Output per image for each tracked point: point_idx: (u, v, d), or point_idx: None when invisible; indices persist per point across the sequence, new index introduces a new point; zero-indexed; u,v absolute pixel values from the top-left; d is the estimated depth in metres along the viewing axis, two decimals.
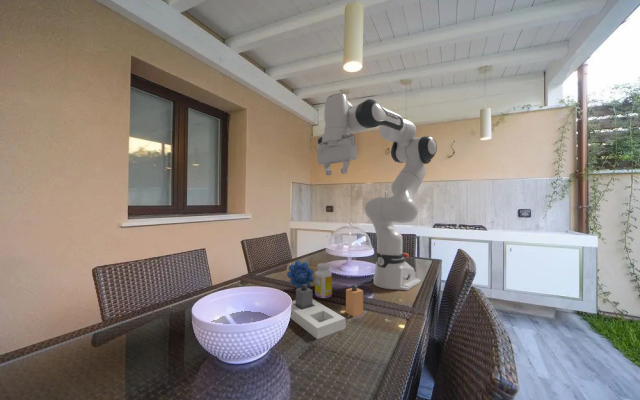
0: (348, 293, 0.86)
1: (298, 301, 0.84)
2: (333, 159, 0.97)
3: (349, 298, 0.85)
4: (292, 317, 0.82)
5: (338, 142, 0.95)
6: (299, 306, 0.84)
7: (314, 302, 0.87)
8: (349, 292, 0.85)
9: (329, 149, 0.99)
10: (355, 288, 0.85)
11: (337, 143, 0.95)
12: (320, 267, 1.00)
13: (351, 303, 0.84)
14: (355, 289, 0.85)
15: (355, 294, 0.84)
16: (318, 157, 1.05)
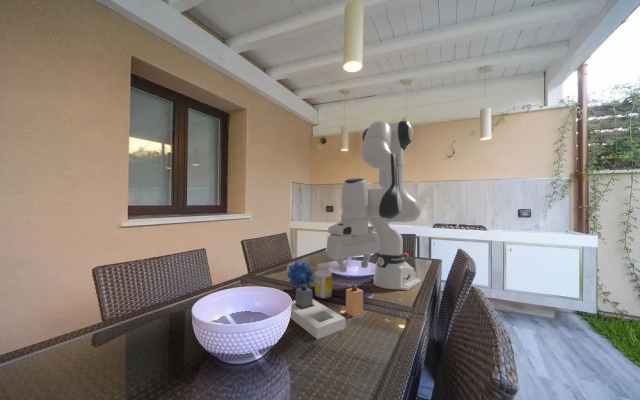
0: (348, 293, 0.86)
1: (298, 301, 0.84)
2: (360, 253, 0.85)
3: (349, 298, 0.85)
4: (292, 317, 0.82)
5: (366, 235, 0.86)
6: (299, 306, 0.84)
7: (314, 302, 0.87)
8: (349, 292, 0.85)
9: (352, 241, 0.83)
10: (355, 288, 0.85)
11: (365, 236, 0.86)
12: (320, 267, 1.00)
13: (351, 303, 0.84)
14: (355, 289, 0.85)
15: (355, 294, 0.84)
16: (337, 251, 0.79)
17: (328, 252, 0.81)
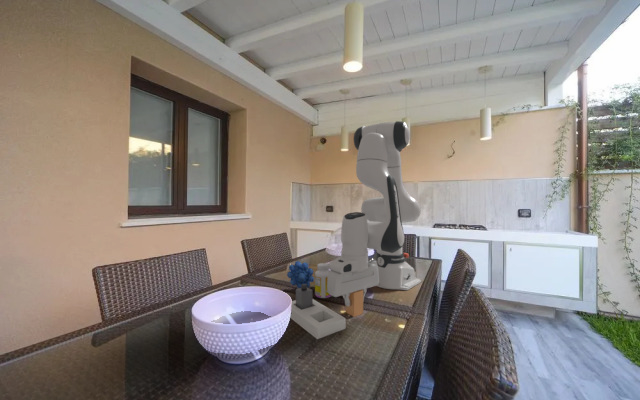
0: None
1: (298, 301, 0.84)
2: (360, 288, 0.85)
3: (349, 298, 0.85)
4: (292, 317, 0.82)
5: (366, 269, 0.87)
6: (299, 306, 0.84)
7: (314, 302, 0.87)
8: None
9: (352, 277, 0.84)
10: None
11: (365, 270, 0.86)
12: (320, 267, 1.00)
13: None
14: None
15: (355, 294, 0.84)
16: (337, 288, 0.79)
17: (328, 289, 0.81)
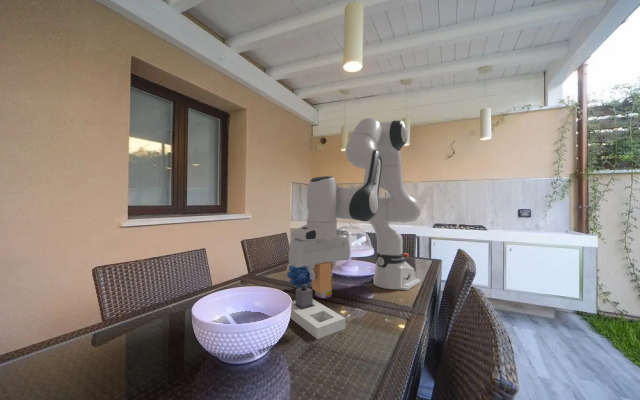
0: None
1: (298, 301, 0.84)
2: (327, 260, 0.76)
3: (315, 271, 0.76)
4: (292, 317, 0.82)
5: (335, 239, 0.77)
6: (299, 306, 0.84)
7: (314, 302, 0.87)
8: (315, 264, 0.76)
9: (318, 246, 0.74)
10: None
11: (333, 240, 0.77)
12: None
13: (317, 276, 0.75)
14: None
15: (321, 266, 0.74)
16: (299, 258, 0.70)
17: (290, 259, 0.72)
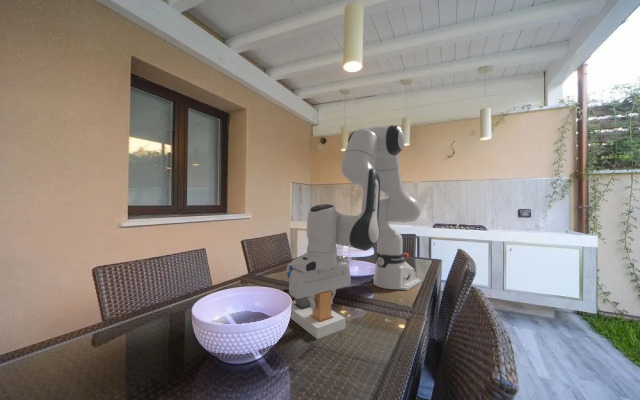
0: None
1: (298, 301, 0.84)
2: (328, 289, 0.76)
3: (315, 300, 0.76)
4: (292, 317, 0.82)
5: (335, 267, 0.78)
6: (299, 306, 0.84)
7: None
8: None
9: (318, 276, 0.75)
10: None
11: (333, 269, 0.77)
12: None
13: None
14: None
15: (321, 295, 0.75)
16: (299, 289, 0.70)
17: (290, 290, 0.72)
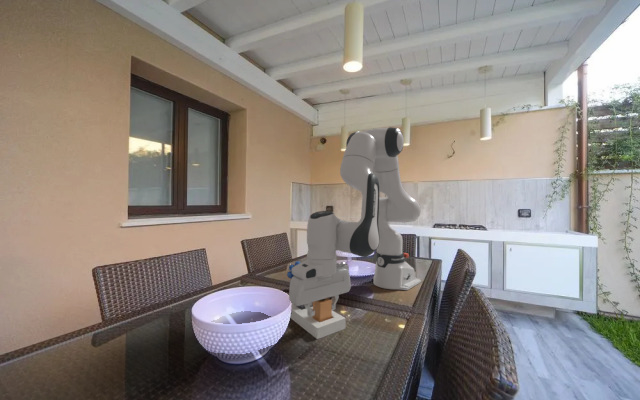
0: (314, 302, 0.77)
1: None
2: (328, 295, 0.76)
3: (315, 308, 0.77)
4: (292, 317, 0.82)
5: (335, 274, 0.78)
6: (299, 306, 0.84)
7: None
8: (316, 302, 0.76)
9: (318, 283, 0.75)
10: None
11: (333, 275, 0.77)
12: None
13: (318, 314, 0.75)
14: None
15: (322, 304, 0.75)
16: (299, 296, 0.71)
17: (290, 297, 0.72)
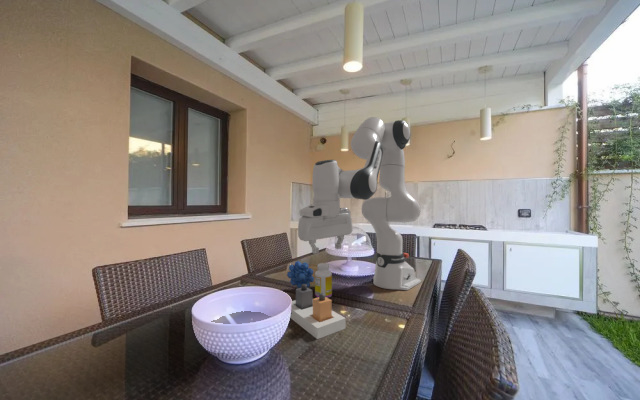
0: (314, 302, 0.77)
1: (298, 301, 0.84)
2: (332, 235, 0.85)
3: (315, 308, 0.77)
4: (292, 317, 0.82)
5: (338, 216, 0.87)
6: (299, 306, 0.84)
7: None
8: (316, 302, 0.76)
9: (324, 223, 0.83)
10: (322, 297, 0.76)
11: (337, 217, 0.86)
12: (320, 267, 1.00)
13: (318, 314, 0.75)
14: (322, 298, 0.76)
15: (322, 304, 0.75)
16: (307, 232, 0.79)
17: (299, 234, 0.81)
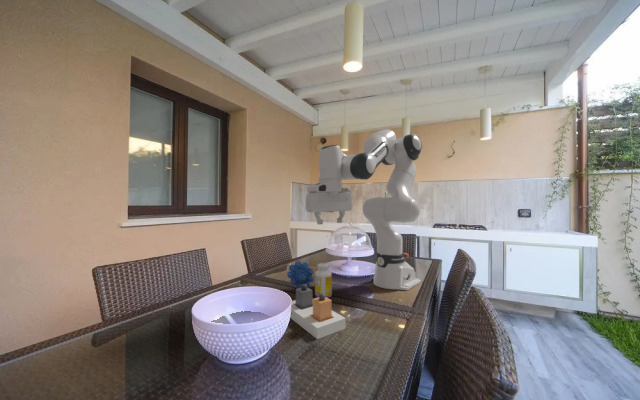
0: (314, 302, 0.77)
1: (298, 301, 0.84)
2: (335, 209, 0.99)
3: (315, 308, 0.77)
4: (292, 317, 0.82)
5: (340, 194, 1.00)
6: (299, 306, 0.84)
7: None
8: (316, 302, 0.76)
9: (328, 198, 0.97)
10: (322, 297, 0.76)
11: (339, 194, 1.00)
12: (320, 267, 1.00)
13: (318, 314, 0.75)
14: (322, 298, 0.76)
15: (322, 304, 0.75)
16: (313, 205, 0.93)
17: (306, 207, 0.95)
